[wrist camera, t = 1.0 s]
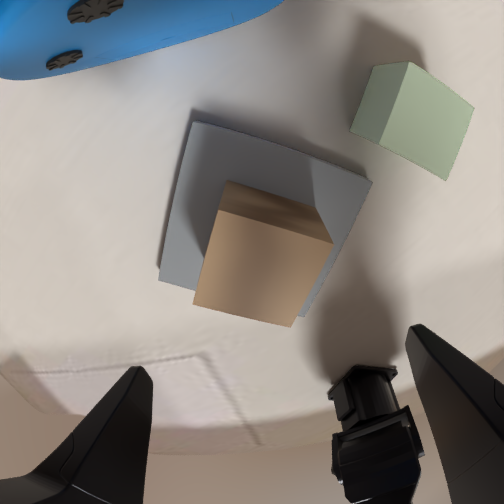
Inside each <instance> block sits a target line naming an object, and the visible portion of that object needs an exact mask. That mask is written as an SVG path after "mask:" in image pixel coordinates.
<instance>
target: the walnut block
mask: <svg viewBox="0 0 504 504" xmlns="http://www.w3.org/2000/svg"><path fill="white" fill-rule="evenodd" d="M333 246H334V243H333V241H332V239H331V237H330V235H329V233H328V231H327V229H326V227H325V225H324V223H323V221H322V219H321V217H320V215H319V213H318V211H317V209H316V208H315V207H312V206H309V205H306V204H303V203H300V202H297V201H294V200H291V199H288V198H285V197H282V196H279V195H275V194H272V193H269V192H266V191H263V190H259V189H256V188H253V187H249V186H246V185H243V184H239V183H236V182H232V181H229V180H227V181H226V184H225V187H224V191H223V194H222V197H221V201H220V204H219V208H218V211H217V214H216V218H215V221H214V225H213V228H212V232H211V235H210V239H209V243H208V246H207V250H206V253H205V257H204V261H203V265H202V269H201V272H200V276H199V280H198V284H197V288H196V292H195V297H194V301H193V305H197V306H201V307H205V308H209V309H213V310H217V311H221V312H225V313H229V314H233V315H237V316H241V317H245V318H250V319H254V320H258V321H263V322H267V323H272V324H276V325H281V326H286V327H290V328H291V326H292V324H293V322H294V320H295V319H296V317H297V315H298V313H299V311H300V310H301V308H302V306H303V304H304V302H305V300H306V298H307V297H308V295H309V293H310V291H311V289H312V287H313V285H314V283H315V281H316V280H317V278H318V276H319V274H320V272H321V270H322V268H323V266H324V264H325V262H326V260H327V258H328V256H329V254H330V252H331V250H332V248H333Z"/></svg>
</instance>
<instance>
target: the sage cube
mask: <svg viewBox="0 0 504 504" xmlns="http://www.w3.org/2000/svg"><path fill="white" fill-rule="evenodd" d="M473 111H474V107H473V106H472V105H470V104H469V103H468V102H467V101H466V100H464V99H463V98H462V97H461V96H459V95H458V94H457V93H455V92H454V91H453V90H451V89H450V88H449V87H447V86H446V85H445V84H443V83H442V82H441V81H439V80H438V79H436V78H435V77H433V76H432V75H430V74H429V73H428V72H426V71H425V70H423V69H421V68H420V67H418V66H417V65H415V64H414V63H412V62H410V61H406V62H398V63H390V64H383V65H377V66H374V67H373V70H372V73H371V76H370V78H369V81H368V84H367V87H366V89H365V92H364V95H363V97H362V100H361V103H360V105H359V108H358V111H357V113H356V116H355V118H354V121H353V124H352V126H351V129H350V132H352V133H354V134H357V135H359V136H361V137H363V138H365V139H368V140H370V141H372V142H374V143H376V144H378V145H380V146H382V147H384V148H386V149H388V150H390V151H392V152H394V153H396V154H398V155H400V156H402V157H404V158H406V159H407V160H409V161H411V162H413V163H415V164H417V165H419V166H420V167H422V168H424V169H426V170H427V171H429V172H431V173H433V174H434V175H436V176H438V177H440V178H441V179H443V180H445V181H446V180H447V178H448V176H449V173H450V171H451V169H452V166H453V164H454V162H455V159H456V157H457V154H458V152H459V149H460V147H461V144H462V142H463V139H464V136H465V134H466V131H467V128H468V126H469V123H470V120H471V117H472V114H473Z"/></svg>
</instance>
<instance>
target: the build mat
mask: <svg viewBox="0 0 504 504" xmlns="http://www.w3.org/2000/svg"><path fill="white" fill-rule="evenodd" d="M227 180H229V181H232V182H236V183H239V184H243V185H246V186H249V187H253V188H256V189H259V190H263V191H266V192H269V193H272V194H275V195H279V196H282V197H285V198H288V199H291V200H294V201H297V202H300V203H303V204H306V205H309V206H312V207H315V208H316V209H317V211H318V213H319V215H320V217H321V219H322V221H323V223H324V225H325V227H326V229H327V231H328V233H329V235H330V237H331V239H332V241H333V243H334V246H333V248H332V250H331V252H330V254H329V256H328V258H327V260H326V262H325V264H324V266H323V268H322V270H321V272H320V274H319V276H318V278H317V280H316V281H315V283H314V285H313V287H312V289H311V291H310V293H309V295H308V297H307V298H306V300H305V302H304V304H303V306H302V308H301V310H300V311H299V313H298V315H297V316H301V317H305V315H306V313H307V311H308V310H309V308H310V306H311V304H312V302H313V301H314V299H315V297H316V295H317V293H318V292H319V290H320V288H321V286H322V284H323V282H324V280H325V279H326V277H327V275H328V273H329V271H330V269H331V267H332V265H333V263H334V262H335V260H336V258H337V256H338V254H339V252H340V250H341V248H342V246H343V244H344V242H345V240H346V238H347V236H348V234H349V232H350V230H351V228H352V226H353V224H354V222H355V219H356V217H357V215H358V213H359V211H360V209H361V207H362V205H363V203H364V200H365V198H366V196H367V194H368V192H369V189H370V187H371V185H372V183H373V182H372V181H370V180H369V179H368V178H366V177H364V176H361V175H359V174H357V173H354V172H352V171H349V170H347V169H344V168H342V167H339V166H337V165H334V164H332V163H329V162H327V161H324V160H322V159H319V158H316V157H314V156H311V155H308V154H305V153H303V152H300V151H297V150H294V149H291V148H288V147H285V146H282V145H279V144H276V143H273V142H270V141H267V140H264V139H261V138H258V137H255V136H251V135H248V134H245V133H241V132H238V131H234V130H231V129H227V128H224V127H220V126H216V125H213V124H209V123H205V122H201V121H197V120H195V121H193V123H192V127H191V130H190V134H189V138H188V141H187V145H186V149H185V153H184V157H183V161H182V165H181V169H180V173H179V177H178V181H177V186H176V190H175V194H174V199H173V204H172V208H171V213H170V218H169V223H168V228H167V233H166V238H165V243H164V249H163V254H162V260H161V266H160V272H159V278H158V280H159V281H162V282H166V283H169V284H173V285H176V286H180V287H184V288H187V289H191V290H195V291H196V288H197V284H198V280H199V276H200V272H201V269H202V265H203V261H204V257H205V253H206V250H207V246H208V243H209V239H210V235H211V232H212V228H213V225H214V221H215V218H216V214H217V211H218V208H219V204H220V201H221V197H222V194H223V191H224V187H225V184H226V181H227Z"/></svg>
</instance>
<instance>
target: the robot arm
mask: <svg viewBox="0 0 504 504" xmlns="http://www.w3.org/2000/svg"><path fill="white" fill-rule="evenodd" d="M405 346H406V351H407V355H408V358H409V362H410V365H411V369H412V373H413V377H414V381H415V384H416V388H417V391H418V394H419V396H420V399H421V402H422V404H423V407H424V410H425V413H426V415H427V418H428V421H429V424H430V427H431V430H432V433H433V436H434V439H435V443H436V446H437V449H438V452H439V456H440V459H441V463H442V466H443V470H444V473H445V477H446V481H447V483H448V489H449V493H450V498H451V502H452V504H504V384H502V383H501V382H500V381H498V380H497V379H494V377H493V376H492V375H490V374H489V373H488V372H486V371H485V370H484V369H483V368H481V367H480V366H479V365H477V364H476V363H475V362H473V361H472V360H471V359H469V358H468V357H467V356H465V355H464V354H462V353H461V352H460V351H458V350H457V349H456V348H454V347H453V346H452V345H450V344H449V343H447V342H446V341H445V340H443V339H442V338H441V337H439V336H438V335H436V334H435V333H434V332H432V331H431V330H429V329H428V328H427V327H425V326H424V325H422V324H416V325H412V326H410V327H409V329H408V334H407V338H406V343H405ZM397 374H398V372H397V370H396V369H386V368H376V367H366V366H354V367H353V368H352V369H351V370H350V371H349V372H348V373H347V375H346V376H345V377H344V378H343V379H342V380H341V382H340V383H339V384H338V385H337V386H336V387H335V388H334V389H333V391H332V392H331V393H330V394H329V395H328V399H329V400H333V401H334V404H335V409H336V414H337V419H338V421H341V424H342V429H343V432H340V433H334V434H332V436H333V440H332V468H331V471H332V474H334V475H335V476H336V477H337V479H338V481H339V483H340V484H341V485H342V484H343V486H344V491H345V497H346V498H347V499H348V500H349V502H350V503H352V504H413V502H412V500H413V497H414V494H415V491H416V489H417V486H418V483H419V480H420V477H421V467H420V464H419V460H418V458H420V457H422V456H424V455H425V454H424V450H423V446H422V443H421V440H420V436H419V433H418V430H417V427H416V425H415V422H414V419H413V416H412V414H411V411H410V408H409V406H408V405H407V406H405V407H404V408H402V409H400V407H399V404H398V401H397V399H396V396H395V393H394V390H393V387H392V384H391V380H392V379H393V378H394V377H395V376H396V375H397ZM152 402H153V381H152V379H151V377H150V376H149V375H148V373H147V372H146V370H145V369H144V368H143V367H142V366H131V367H130V368H129V369H128V370H127V371H126V372H125V373H124V375H123V376H122V377H121V378H120V379H119V380H118V381H117V382H116V383H115V384H114V386H113V387H112V388H111V389H110V390H109V391H108V392H107V393H106V394H105V396H104V397H103V398H102V399H101V400H100V401H99V402H98V403H97V404H96V406H95V407H94V408H93V409H92V410H91V411H90V412H89V413H88V414H87V416H86V417H85V418H84V419H83V420H82V421H81V422H80V423H79V424H78V426H77V427H76V428H75V429H74V430H73V432H71V433H70V435H69V436H68V437H67V438H66V439H65V440H64V441H63V442H62V443H61V444H60V445H59V446H58V447H57V449H55V450H54V451H53V452H52V453H51V454H50V455H49V456H48V457H47V458H46V459H45V460H44V461H43V462H42V463H40V464H39V465H38V466H37V467H36V468H35V469H34V470H33V471H31V472H30V473H28V474H26V475H24V476H21V477H14V478H8V479H1V480H0V504H143V496H144V484H145V473H146V465H147V456H148V447H149V439H150V432H151V424H152ZM408 425H409V427H408Z"/></svg>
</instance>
